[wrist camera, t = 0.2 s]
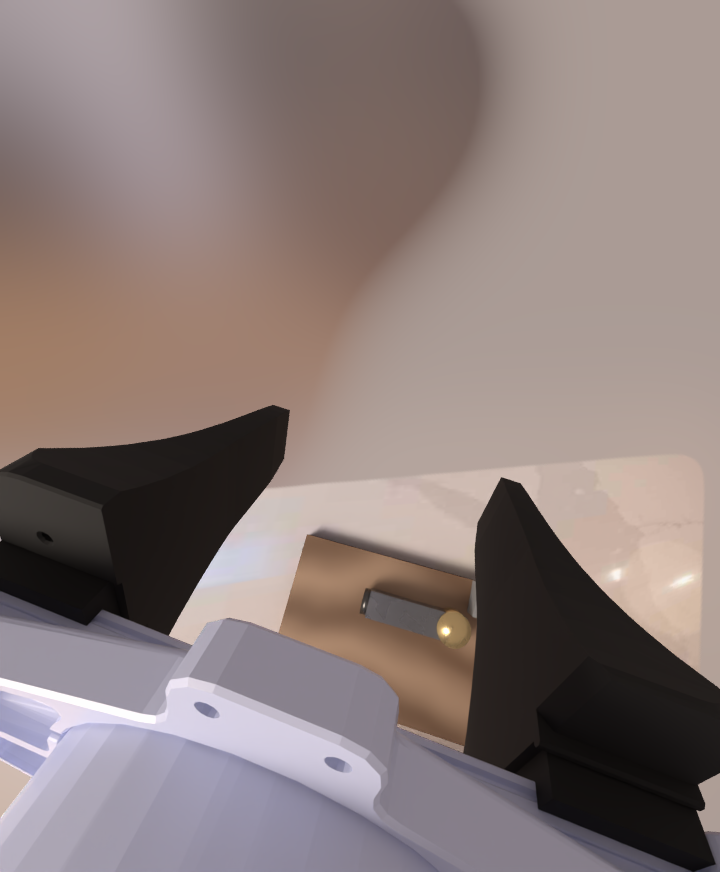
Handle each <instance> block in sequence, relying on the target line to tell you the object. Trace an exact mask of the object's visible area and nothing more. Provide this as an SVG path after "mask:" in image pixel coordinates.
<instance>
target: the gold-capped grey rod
mask: <svg viewBox="0 0 720 872" xmlns="http://www.w3.org/2000/svg"><path fill="white" fill-rule="evenodd" d="M359 614H362V615H365V618H368V619H371V620H375V621H378V622H381V623H385V624H388V625H391V626H394V627H398V628H401V629H404V630H408V631H411V632H414V633H418V634H421V635H424V636H427V637H431V638H434V639H437V640H441V641H442V643H443V644H444V645H446V646H447V647H449V648H453V649H458V648H462V647H464V646H465V645H466V644H467V643H468V642H469V640H470V637H471V626H470V623H469V622H468V620H467V618H466V617H465V616H464V615H463V614H461V613H460V612H459V611H458V610H456V609H454V608H450V607H448V608H439V607H436V606H433V605H429V604H426V603H422V602H419V601H415V600H412V599H408V598H405V597H402V596H398V595H395V594H391V593H388V592H384V591H381V590H377V589H374V588H372V589H369V588H366V589H365V592H364V595H363V599H362V603H361V608H360V613H359Z"/></svg>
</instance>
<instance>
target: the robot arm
mask: <svg viewBox="0 0 720 872" xmlns="http://www.w3.org/2000/svg"><path fill="white" fill-rule="evenodd" d="M289 412H290V410H287V409H284V408H281V407H278V406H275V405H272V406H268V407H265V408H263V409H260V410H257V411H254V412H252V413H249V414H247V415H244V416H241V417H238V418H236V419H233V420H230V421H228V422H225V423H222V424H218V425H215V426H213V427H209V428H206V429H203V430H199V431H196V432H192V433H189V434H185V435H180V436H176V437H171V438H167V439H161V440H155V441H148V442H142V443H135V444H128V445H118V446H106V447H90V448H38V449H36V450H34V451H33V452H31V453H29V454H27V455H25V456H24V457H22V458H20V459H18V460H16V461H15V462H13V463H11V464H9V465H7V466H6V467H4V468H2V469H0V537H1V540H2V541H0V760H1V761H3V762H5V763H7V764H9V765H11V766H12V767H14V768H16V769H18V770H20V771H21V772H23V773H25V774H27V775H28V776H30V777H32V778H31V779H30V781H29V782H28V783H27V784H26V786H25V787H24V788H23V790H22V791H21V792H20V794H19V795H18V796H17V797H16V798H15V800H14V801H13V802H12V804H11V805H10V806H9V807H8V809H7V810H6V811H5V812H4V814H3V815H2V816H1V818H0V872H720V833H719V832H709V831H708V832H704V830H703V827H702V825H701V822H700V820H699V817H698V814H697V811H696V810H698V811H702V810H704V809H705V802H704V800H703V797H702V794H701V792H700V790H699V787H698V784H700V783H702V782H703V781H705V780H707V779H709V778H711V777H713V776H715V775H717V774H719V773H720V689H719V688H718V687H717V686H715V685H714V684H713V683H711V682H710V681H709V680H707V679H706V678H705V677H703V676H702V675H701V674H699V673H698V672H697V671H695V670H694V669H693V668H691V667H690V666H689V665H687V664H686V663H685V662H683V661H682V660H681V659H679V658H678V657H677V656H675V655H674V654H673V653H672V652H670V651H669V650H668V649H667V648H666V647H664V646H663V645H662V644H661V643H660V642H658V641H657V640H656V639H655V638H654V637H652V636H651V635H650V634H649V633H648V632H646V631H645V630H644V629H643V628H642V627H641V626H640V625H638V624H637V623H636V622H635V621H634V620H633V619H632V618H631V617H629V616H628V615H627V614H626V613H625V612H624V611H623V610H622V609H621V608H620V607H619V606H618V605H617V604H616V603H615V602H614V601H613V600H612V599H611V598H609V597H608V595H607V594H606V593H605V592H604V591H603V590H602V589H601V588H600V587H599V586H598V585H597V584H596V583H595V582H594V581H593V580H592V579H591V578H590V576H589V575H588V574H587V573H586V572H585V571H584V570H583V569H582V568H581V566H580V565H579V564H578V563H577V562H576V560H575V559H574V558H573V557H572V556H571V554H570V553H569V552H568V550H567V549H566V548H565V547H564V545H563V544H562V543H561V541H560V540H559V539H558V537H557V536H556V535H555V533H554V532H553V530H552V529H551V528H550V526H549V525H548V523H547V522H546V520H545V519H544V517H543V516H542V515H541V513H540V512H539V510H538V509H537V507H536V505H535V504H534V502H533V501H532V499H531V498H530V496H529V495H528V493H527V492H526V490H525V489H524V488H523V486H522V485H521V483H518V482H514V481H511V480H508V479H505V478H502V477H501V479H500V481H499V483H498V485H497V487H496V488H495V490H494V492H493V494H492V496H491V498H490V500H489V502H488V504H487V506H486V508H485V510H484V512H483V514H482V516H481V518H480V520H479V521H478V525H477V533H476V542H475V578H476V605H477V630H476V644H475V657H474V668H473V678H472V689H471V698H470V706H469V715H468V724H467V732H466V739H465V746H464V753H461V752H459V751H456V750H454V749H451V748H449V747H446V746H444V745H441V744H439V743H436V742H434V741H431V740H429V739H426V738H423V737H421V736H418V735H416V734H413V733H411V732H408V731H406V730H403V729H401V728H398V727H397V722H398V715H399V697H398V696H397V694H396V693H395V692H394V690H393V689H392V688H391V687H390V686H389V684H388V683H387V682H386V681H385V680H384V679H383V677H382V676H380V675H378V674H376V673H374V672H373V671H371V670H369V669H367V668H365V667H364V666H362V665H360V664H358V663H355V662H352V661H350V660H347V659H345V658H342V657H339V656H337V655H334V654H332V653H329V652H326V651H324V650H321V649H319V648H316V647H313V646H311V645H308V644H306V643H303V642H300V641H298V640H295V639H292V638H290V637H287V636H285V635H282V634H279V633H277V632H274V631H272V630H269V629H266V628H264V627H261V626H259V625H256V624H253V623H251V622H246V621H241V620H237V619H232V618H227V619H222V620H218V621H214V622H209V623H207V624H206V625H205V627H204V628H203V630H202V632H201V633H200V635H199V636H198V638H197V639H196V641H195V642H194V644H193V645H190V644H187V643H185V642H182V641H180V640H177V639H175V638H172V637H170V636H169V634H170V632H171V630H172V628H173V627H174V625H175V623H176V621H177V619H178V617H179V616H180V614H181V612H182V610H183V609H184V607H185V605H186V603H187V602H188V600H189V598H190V596H191V595H192V593H193V591H194V589H195V588H196V586H197V584H198V583H199V581H200V579H201V578H202V576H203V574H204V573H205V571H206V569H207V568H208V566H209V564H210V563H211V561H212V559H213V558H214V556H215V555H216V553H217V552H218V550H219V548H220V547H221V545H222V544H223V542H224V541H225V539H226V538H227V536H228V535H229V533H230V532H231V531H232V529H233V528H234V527H235V525H236V524H237V523H238V522H239V520H240V519H241V518H242V517H243V515H244V514H245V513H246V512H247V510H248V509H249V508H250V507H251V505H252V504H253V503H254V502H255V500H256V499H257V498H258V497H259V495H260V494H261V493H262V492H263V490H264V489H265V488H266V487H267V485H268V484H269V483H270V481H271V480H272V478H273V477H274V475H275V473H276V472H277V470H278V468H279V466H280V465H281V463H282V461H283V459H284V454H285V446H286V437H287V429H288V421H289Z"/></svg>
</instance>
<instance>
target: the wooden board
mask: <svg viewBox="0 0 720 872" xmlns="http://www.w3.org/2000/svg"><path fill="white" fill-rule="evenodd" d="M472 581H473V580H471V579H468V578H464V577H461V576H457V575H453V574H450V573H446V572H442V571H439V570H435V569H432V568H428V567H424V566H421V565H417V564H413V563H410V562H406V561H403V560H399V559H395V558H392V557H388V556H385V555H381V554H377V553H374V552H370V551H366V550H363V549H359V548H356V547H352V546H348V545H345V544H341V543H337V542H334V541H330V540H327V539H323V538H319V537H316V536H312V535H307V537H306V540H305V544H304V547H303V550H302V554H301V557H300V561H299V564H298V568H297V571H296V575H295V578H294V582H293V585H292V589H291V592H290V595H289V599H288V602H287V606H286V609H285V613H284V616H283V620H282V623H281V627H280V630H279V634H282V635H285V636H287V637H290V638H292V639H295V640H298V641H300V642H303V643H306V644H308V645H311V646H313V647H316V648H319V649H321V650H324V651H326V652H329V653H332V654H334V655H337V656H339V657H342V658H345V659H347V660H350V661H352V662H355V663H358V664H360V665H362V666H364V667H365V668H367V669H369V670H371V671H373V672H374V673H376V674H378V675H380V676H382V677H383V679H384V680H385V681H386V682H387V683H388V684H389V686H390V687H391V688H392V689H393V690H394V692H395V693H396V694H397V696H398V697H399V715H398V722H397V723H398V724H401V725H404V726H407V727H410V728H412V729H415V730H418V731H421V732H424V733H427V734H430V735H433V736H436V737H439V738H442V739H445V740H448V741H451V742H454V743H457V744H460V745H462V746H465V739H466V732H467V724H468V715H469V706H470V698H471V689H472V678H473V668H474V657H475V644H476V630H477V618H474V617H472V616H471V615H470V614H469V613H468V612H467V609H468V604H469V598H470V593H471V587H472ZM474 581H475V580H474ZM366 588H369V589H372V588H374V589H377V590H381V591H384V592H388V593H391V594H395V595H398V596H402V597H405V598H408V599H412V600H415V601H419V602H422V603H426V604H429V605H433V606H436V607H439V608H448V607H450V608H454V609H456V610H458V611H459V612H460V613H461V614H463V615H464V616H465V617H466V618H467V620H468V622H469V623H470V626H471V637H470V640H469V642H468V643H467V644H466V645H465V646H464V647H462V648H458V649H453V648H449V647H447V646H446V645H444V644H443V643H442V641H441V640H437V639H434V638H431V637H427V636H424V635H421V634H418V633H414V632H411V631H408V630H404V629H401V628H398V627H394V626H391V625H388V624H385V623H381V622H378V621H375V620H371V619H368V618H365V615H362V614H359V613H360V608H361V603H362V599H363V595H364V592H365V589H366Z"/></svg>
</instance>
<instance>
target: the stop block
mask: <svg viewBox="0 0 720 872" xmlns="http://www.w3.org/2000/svg"><path fill="white" fill-rule="evenodd" d="M467 612H468V613H469V614H470V615H471V616H472V617H474V618H477V605H476V581H474V580H473V581H472V587H471V593H470V598H469V604H468V609H467Z"/></svg>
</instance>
